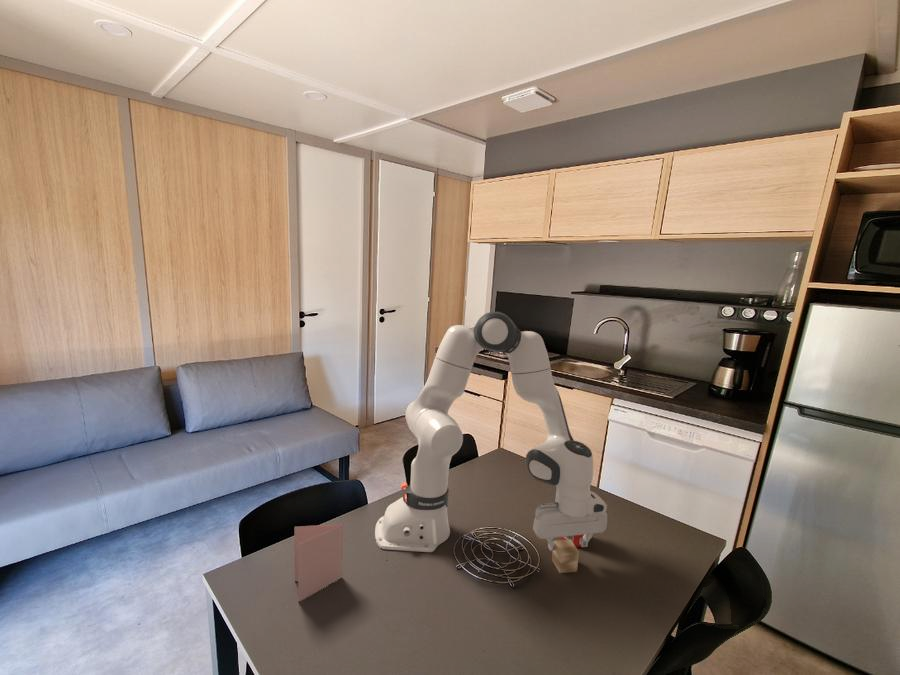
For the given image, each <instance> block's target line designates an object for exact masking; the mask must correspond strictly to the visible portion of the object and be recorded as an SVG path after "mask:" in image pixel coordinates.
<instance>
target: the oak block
mask: <svg viewBox="0 0 900 675" xmlns="http://www.w3.org/2000/svg"><path fill="white" fill-rule="evenodd" d="M553 541H554V543H555V544H556V550H553V551H552V555H551V561H552V563H553V564H554V566H555V568H556V571H557V572H558V573H559V574H565V573H576V572H578V567H579V566H578V564H579V556H580V551H579V549H578V547H575V545H574V544H573V542H572V541H571V539H570V540H562V539H558V540H553Z"/></svg>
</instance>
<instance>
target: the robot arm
mask: <svg viewBox="0 0 900 675" xmlns="http://www.w3.org/2000/svg"><path fill="white" fill-rule="evenodd" d="M483 350H487V351H489V352H492V353H493V352H494V353H502V354H505V355H506V357H507V358H508V361H509V363H508V364H509V367H510V368H509V369H510V373H511V374H510V375H511V381H512V386H513V389H514V390H515V391H514V392H515V393H516V395H517V396H519V397H520V398H521V399H522V400H524V401H526V402H528V403H532V404H535V405H536V406H538V407H539V408H540V410H541V412H542V416H543V419H544V422H545V426H546V430H547V436H546V437H547V438H546V440H545V441H544V442H542V443H540V444H538V445H537V446H535V447H533V448H531V450H529V451H528V452H527V453H526V455H525V458H524V459H525V460H524V462H525V467H526V470H527V472H528V474H529V475H530V476H531V477H532V479H533V480H535V481H537V482H539V483H543V484H546V485H550V486H555V487H556V492H555V501H554V502H548V503H541V504H540V505H539V506H538V507H536V508H535V511H534V512H535V513H534V515H535V516H534V520H533V526H532V530H533V532H534V534H535V536H536V537H538V539H539V540H543V539H545V540H547V545H548V546H547V548H548V549H549V551H550V552H551V551H552V552H553V550H556V544H555V543H554V541H555V540H554V538H561V537H564V536H574V535H583V534H584V536H583V538H580V545H581V546H582V547H581V548H586V547H588V545H589V542H590V540H591V539H592V537H593V535H594V534H599V533H600V534H601V533H604V532H605V531H606V529H607V526H608V514H607V512H606V511H607V510H608V509H607V508H608V505H607V503H606V502H605V501H604V500H603V499H602V498H601V497H600V496H599V494H597V493H596V492H594V491H591V486H592V482H593V479H594V455H593V453H592V451H591V449H590V447H588V446H587V445H586V444H584V443H582V442H580V441H577V440H574V438H573V436H572V434H571V430H570V428H569V425H568V424H569V423H568V420H567V417H566V413H565V409H564V404H563V402H562V398H561V395H560V393H559V390H558V388H557V387H556V385H555V381H554V378H553V373H552V368H551V363H550V359H549V358H550V357H549V355H548V350H547V348H546V345H545V342H544V339H543V337H542V336H541V335H540V334H539V333H537V332H535V331H532V330H529V331H528V330H524V331H521V330H520V329H519V328H518V326H517V325H516V324H515V322H514V321H513V320H512V319H511V318H510V317H509V315H507V314H505V313H503V312H501V311H490V312H486V313H485V314H483V315H481V316H480V317H479V318H478V320H477V322H476V323H475V324H474V325H473V326H468V325H462V324H456V325H455V324H454V325H452V326H450V327H449V328H448V329H447V331H446V332H445V334H444V335H443V338H442V340H441V341H440V344H439V346H438V348H437V351H436V354H435V356H434V359H433V363H432V365H431V368H430V372H429V374H428V378H427V380H426V382H425V384H424V386H423V388H422V389H421V391H420V393H419V394H418V396H417V397H416V399H415V400H413V401H411V402H410V404H409V405H408V406H407V408H406V409H405V416H404V417H405V420H406V425H407V427H408V428H409V430H410V431H411V433H412V434H413V435H414V437H416V440H417V444H418V449H417V452H416V456H415V457H414V458H413V460H412V461H411V464H410V484H409V485H408V483H407V482H402V483H401V485H400V489H401V491H402V497H400V498H399V499H397V500H396V501H394V502H392V503H390V504H389V505H388V506H386V507H387V508H386V509H385V512H384V515H383V516H380V518H379V519H378V520H377V522H376V524H375V528H374V540H375V539H376V540H375V542H376V545H377V546H378V548H380V549H381V548H382V549H381V550H388V551H389V550H392V551H403V552H404V551H405V552H423V553H433V552H434V551H435V550H436V548H438V546H440V545H441V544H443V543H444V542H446V541H447V540H448V539H449V537H450V535H451V527H450V525H449V519H448V518H449V517H448V506H449V499H450V497H449V496H450V491H449V490H450V489H449V486H448V485H449V484H448V483H449V471H450V463H451V461H452V457H453V456H454V455H455V454H457V453H458V452H459V450H460V449H461V447H462V445H463V442H464V435H463V432H462V430H461V428H460V426H459V424H458V423H457V422H456V420H455V419H454V418H453V417H451V415H449V409H450V408H451V407H452V405H453V403H454V402H455V401H456V400H457V399H458V398H460V397H462V396H463V395H464V393H465V389H466V387H467V384H468V380H469V379H470V378H469V377H470V375H471V372H472V369H473V366H474V363H475V359H476V358H477V355H478V354H479V353H480V352H481V351H483Z"/></svg>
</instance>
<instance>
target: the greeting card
mask: <svg viewBox="0 0 900 675" xmlns="http://www.w3.org/2000/svg"><path fill="white" fill-rule="evenodd" d="M293 529H294V582H295V581H296V580H298V582H297V590H298V591H297V592H298V593H297V595H298V596H297V599H298V601H297V603H298V602H299V601H300V602H302V601H303V599H304V600H306V599H307V598H306V597H308V596H309V597H311V596H313V595H315V594H316V592H317V591H318V592H320V591H322V590H323V588H324V587H325V588H327V587H329V586H330V585H329V584H331V583H333V582H334V583H336V582H338V581H339V580H338V579H340V578H342V579H343V563H344V562H343V557H344V523H340V524H338V523H337V524H324V525H323V524H320V525H305V526H303V525H302V526H294V528H293ZM337 580H338V581H337ZM340 580H341V579H340ZM335 581H336V582H335ZM334 583H333V584H334ZM328 585H329V586H328ZM331 585H332V584H331ZM326 586H327V587H326ZM325 588H324V589H325ZM321 589H322V590H321ZM319 590H320V591H319ZM318 592H317V593H318ZM314 593H315V594H314ZM312 594H313V595H312ZM310 595H311V596H310ZM309 597H308V598H309ZM305 598H306V599H305ZM301 600H302V601H301ZM300 602H299V603H300Z"/></svg>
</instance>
